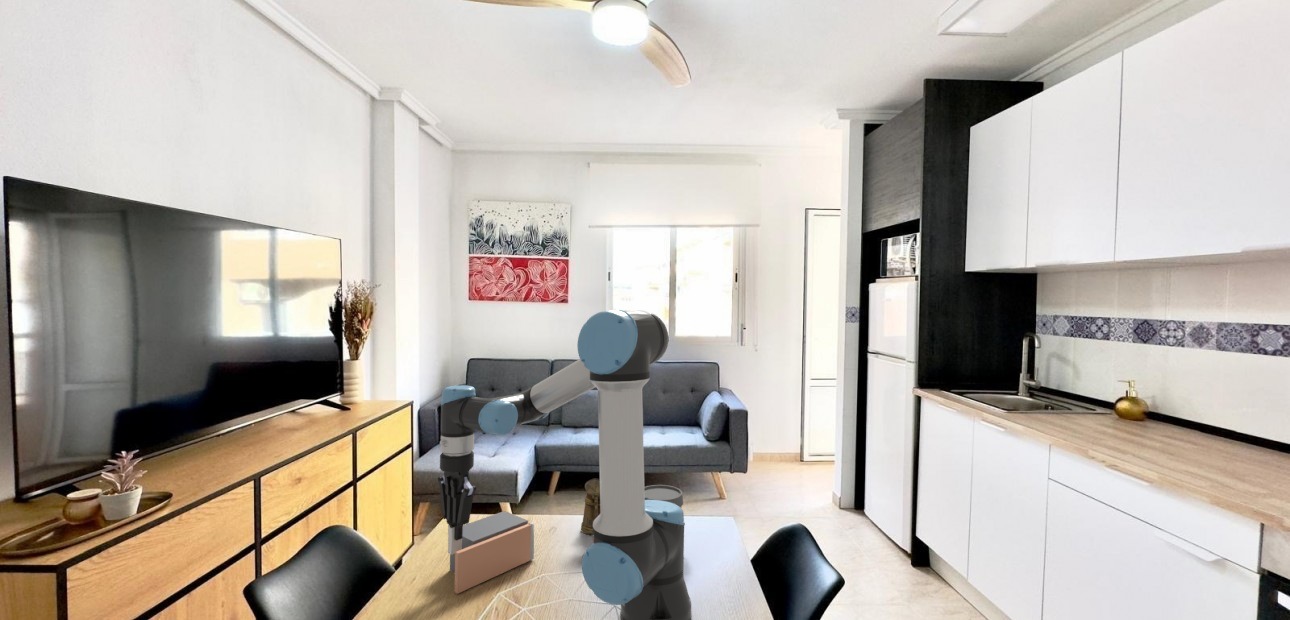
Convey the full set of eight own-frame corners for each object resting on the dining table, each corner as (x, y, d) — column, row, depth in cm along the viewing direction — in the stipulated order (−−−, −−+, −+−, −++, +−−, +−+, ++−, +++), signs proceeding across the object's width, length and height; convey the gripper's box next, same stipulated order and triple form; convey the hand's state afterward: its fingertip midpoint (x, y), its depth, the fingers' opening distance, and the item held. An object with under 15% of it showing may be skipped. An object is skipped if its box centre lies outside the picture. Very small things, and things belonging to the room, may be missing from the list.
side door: (535, 558, 131) (535, 523, 131) (457, 593, 114) (458, 553, 114) (531, 556, 132) (531, 522, 132) (454, 591, 115) (454, 551, 115)
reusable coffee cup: (658, 532, 149) (659, 481, 149) (692, 546, 140) (692, 492, 140) (627, 546, 140) (628, 491, 140) (661, 562, 131) (662, 504, 131)
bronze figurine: (577, 542, 142) (578, 478, 142) (582, 523, 155) (582, 464, 155) (609, 542, 142) (610, 478, 142) (611, 522, 156) (612, 464, 156)
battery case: (528, 559, 132) (528, 520, 132) (473, 584, 119) (474, 541, 119) (504, 547, 138) (504, 510, 138) (449, 570, 126) (450, 529, 126)
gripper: (427, 449, 121) (425, 548, 121) (457, 460, 113) (455, 567, 113) (456, 443, 127) (454, 538, 127) (487, 453, 119) (484, 554, 119)
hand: (454, 551), depth 120 cm, fingers closed
